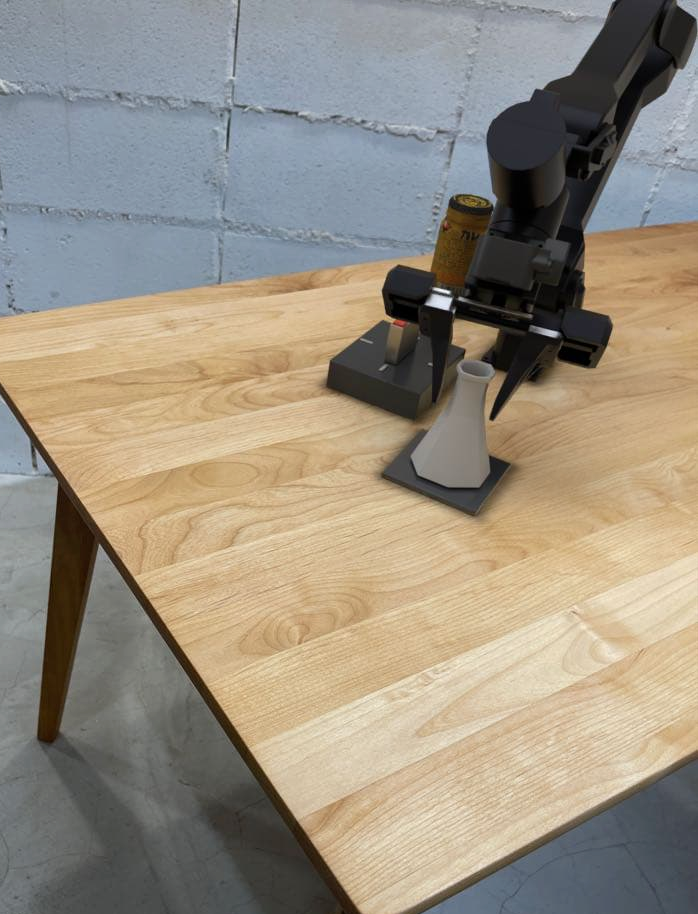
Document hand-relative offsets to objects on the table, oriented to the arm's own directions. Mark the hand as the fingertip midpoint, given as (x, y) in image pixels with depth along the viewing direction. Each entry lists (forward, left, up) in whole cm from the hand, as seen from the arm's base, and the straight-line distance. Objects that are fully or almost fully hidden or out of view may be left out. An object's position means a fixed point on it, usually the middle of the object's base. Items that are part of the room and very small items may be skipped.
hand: (462, 411), depth 70 cm
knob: (-13, -11, -4) cm, 18 cm away
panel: (-13, -11, -7) cm, 19 cm away
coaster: (-1, 0, -7) cm, 7 cm away
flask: (-2, 0, -7) cm, 7 cm away
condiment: (-36, -14, -7) cm, 40 cm away
